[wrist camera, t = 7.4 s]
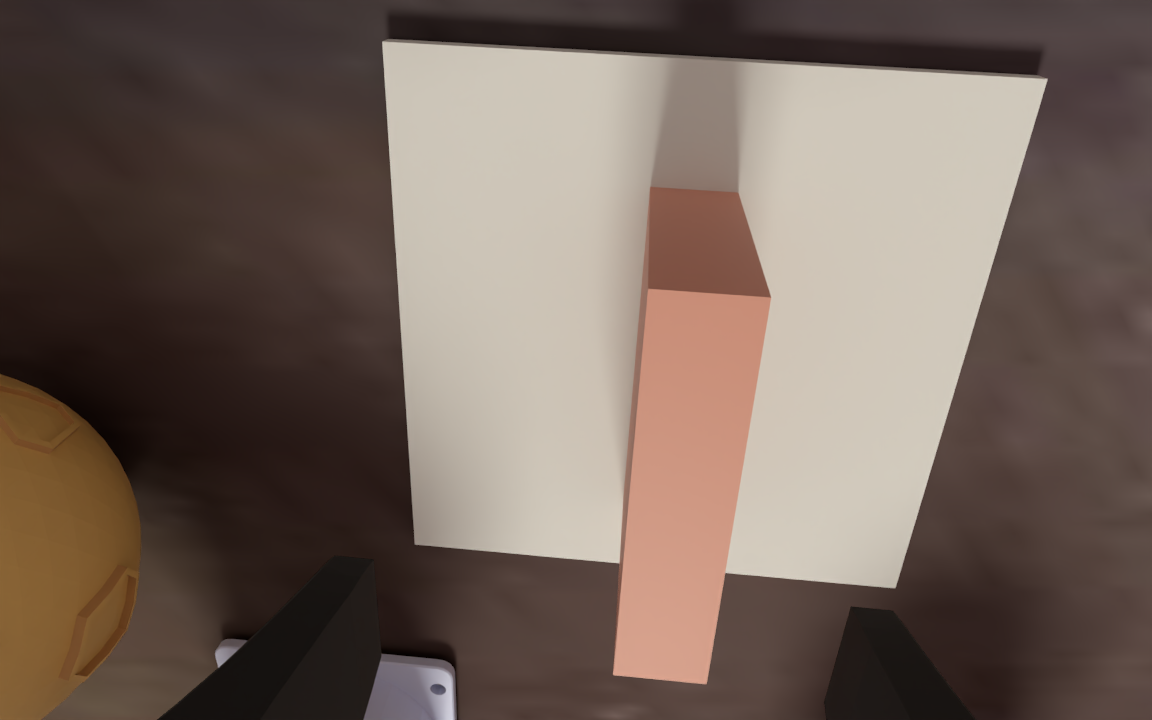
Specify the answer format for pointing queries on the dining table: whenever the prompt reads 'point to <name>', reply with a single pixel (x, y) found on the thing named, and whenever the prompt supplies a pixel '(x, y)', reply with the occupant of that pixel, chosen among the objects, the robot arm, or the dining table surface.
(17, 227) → the dining table surface
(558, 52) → the mat
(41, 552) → the stress ball
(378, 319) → the dining table surface
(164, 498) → the dining table surface
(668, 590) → the slab
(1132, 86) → the dining table surface
